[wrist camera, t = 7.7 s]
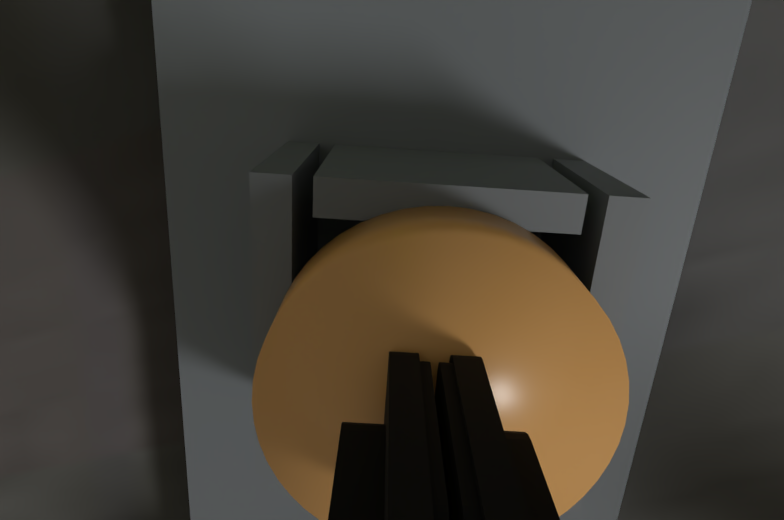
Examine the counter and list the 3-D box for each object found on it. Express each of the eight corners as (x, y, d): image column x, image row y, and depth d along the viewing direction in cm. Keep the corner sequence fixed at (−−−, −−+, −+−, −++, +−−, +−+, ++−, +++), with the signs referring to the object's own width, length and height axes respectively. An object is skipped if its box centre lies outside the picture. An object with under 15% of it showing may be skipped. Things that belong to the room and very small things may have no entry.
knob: (303, 157, 14) (247, 221, 9) (566, 175, 14) (668, 247, 9) (301, 385, 17) (255, 545, 11) (527, 399, 17) (590, 564, 11)
